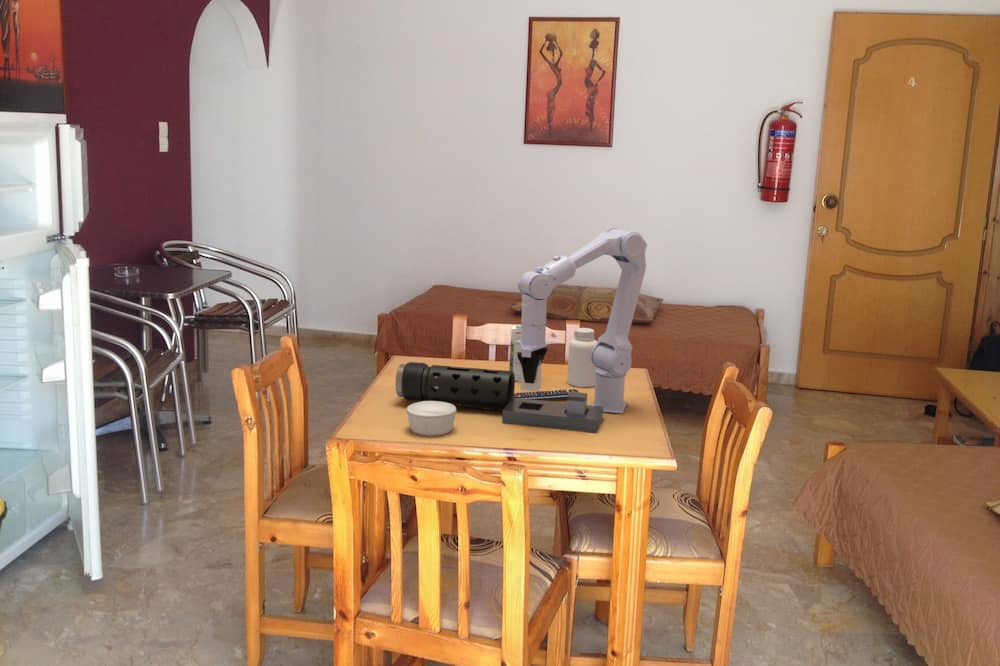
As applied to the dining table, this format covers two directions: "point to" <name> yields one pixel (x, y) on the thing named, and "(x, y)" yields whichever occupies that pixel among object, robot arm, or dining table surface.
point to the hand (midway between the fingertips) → (531, 380)
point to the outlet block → (551, 415)
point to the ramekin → (431, 417)
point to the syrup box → (515, 352)
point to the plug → (537, 382)
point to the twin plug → (577, 403)
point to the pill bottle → (581, 358)
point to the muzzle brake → (456, 385)
